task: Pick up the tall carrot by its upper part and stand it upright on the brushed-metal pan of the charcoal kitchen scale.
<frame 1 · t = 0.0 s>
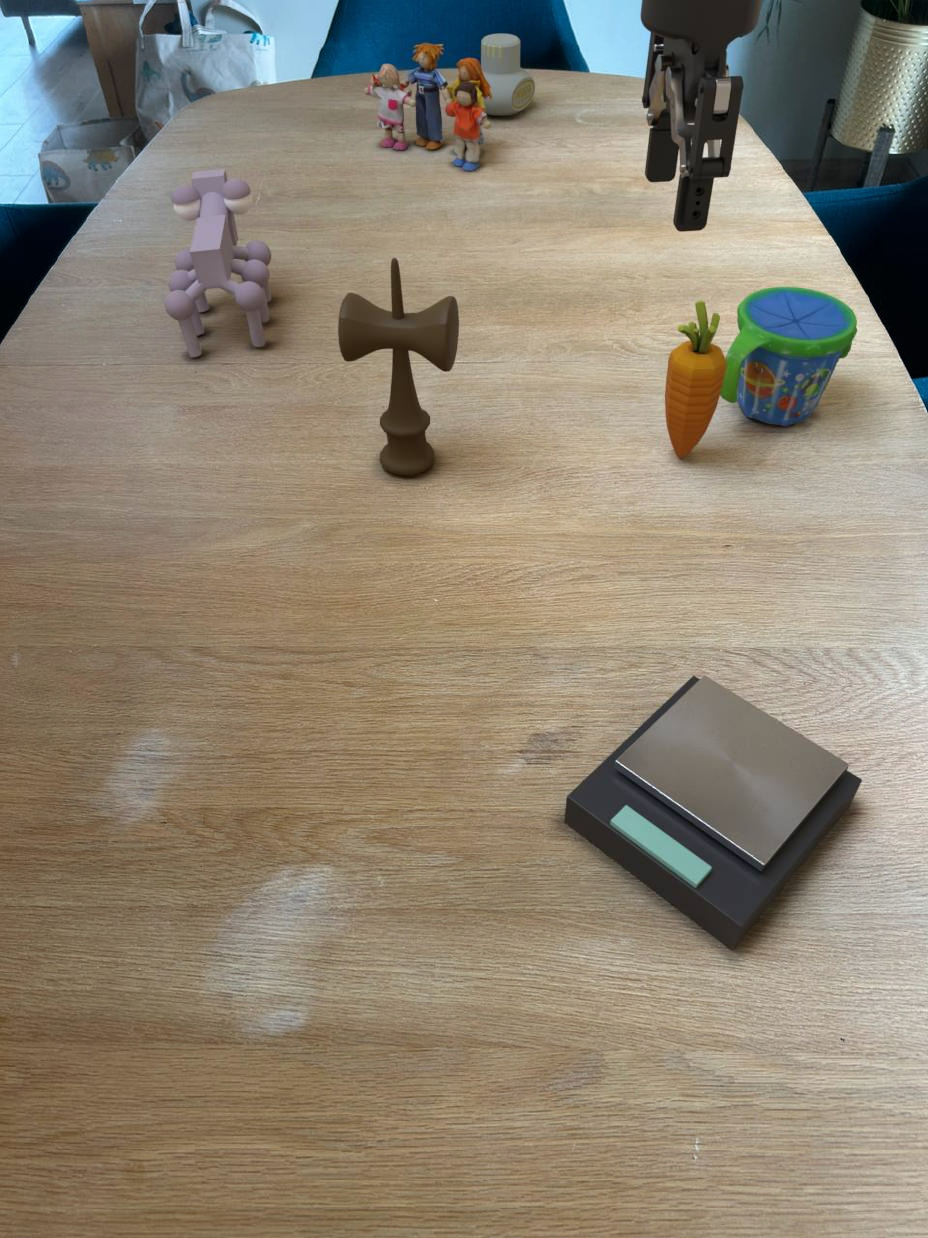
hand: (673, 203, 73), 25 cm above the table, tool pointing down, fingers open, 8 cm apart
scale: (707, 814, 66), on the table
air freshener: (499, 111, 156), on the table
doll family: (441, 149, 146), on the table
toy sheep: (231, 313, 113), on the table
carrot: (680, 458, 93), on the table
snack cup: (774, 408, 99), on the table
scale pan: (730, 766, 64), point 4 cm above the table, slide at 0.0 cm
kendama: (407, 464, 93), on the table
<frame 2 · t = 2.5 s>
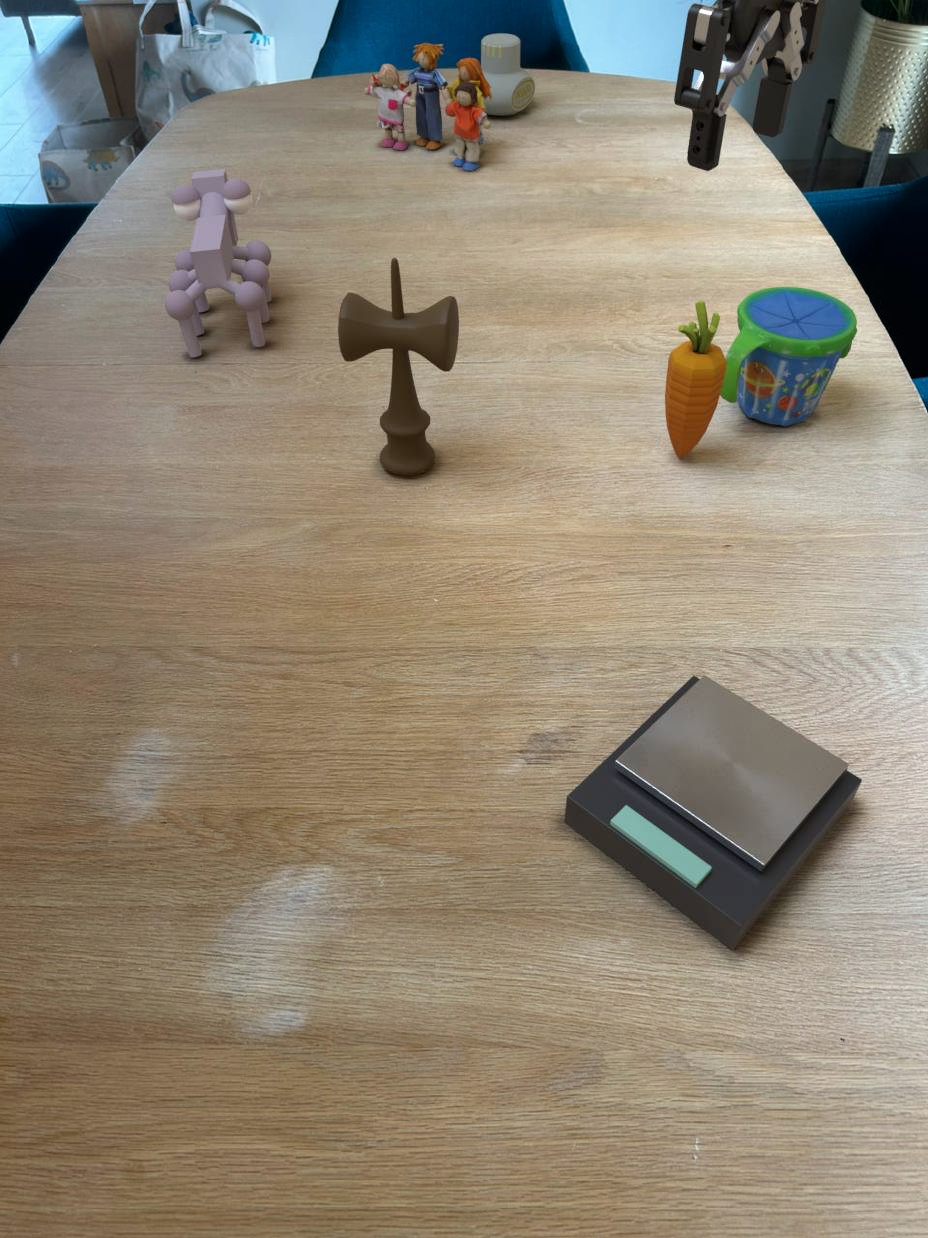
hand: (735, 149, 73), 28 cm above the table, tool pointing down, fingers open, 8 cm apart
nothing on the table moved.
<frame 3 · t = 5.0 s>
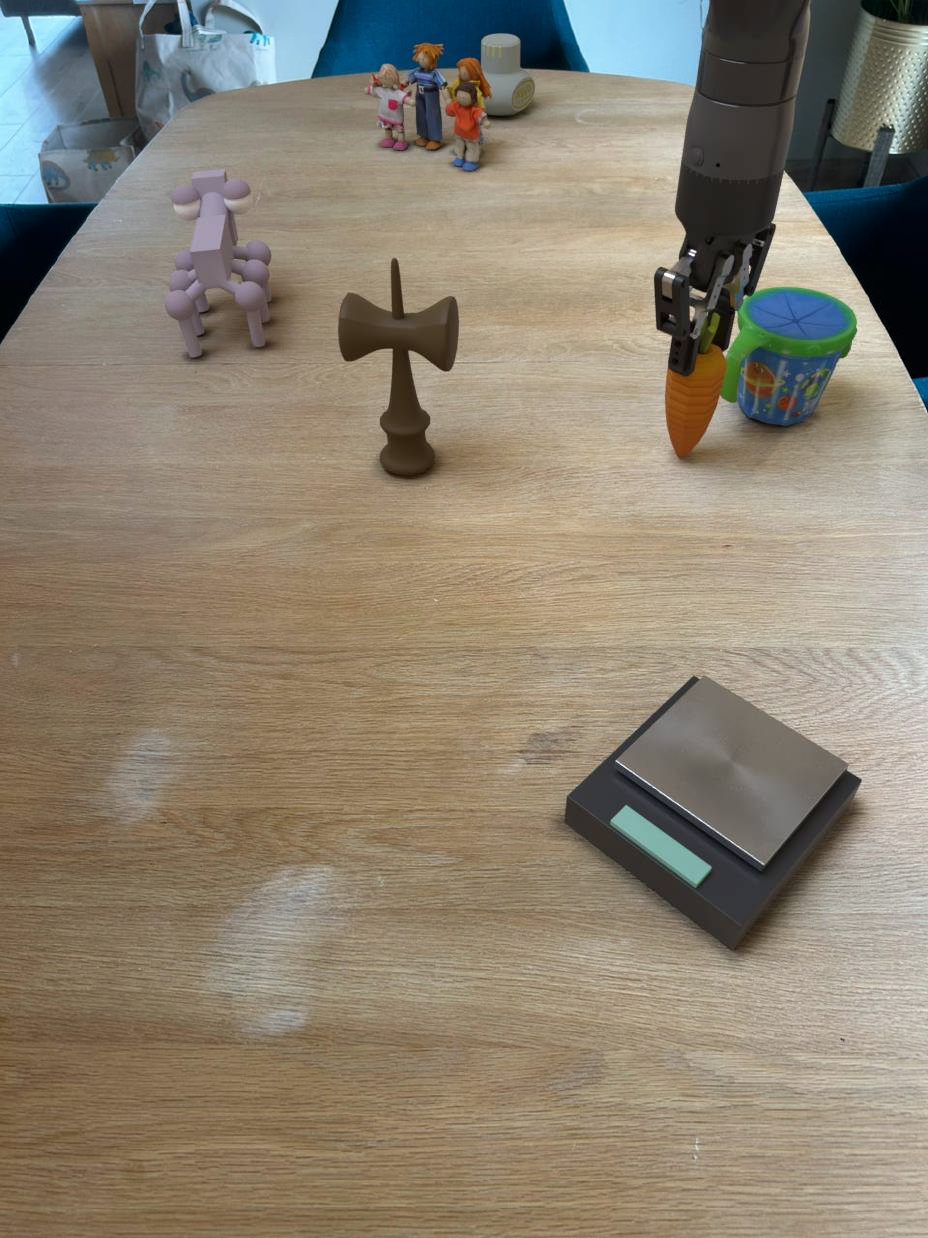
hand: (698, 358, 86), 10 cm above the table, tool pointing down, fingers closed on carrot, 4 cm apart
carrot: (680, 458, 93), on the table, touching gripper
everything else where it was.
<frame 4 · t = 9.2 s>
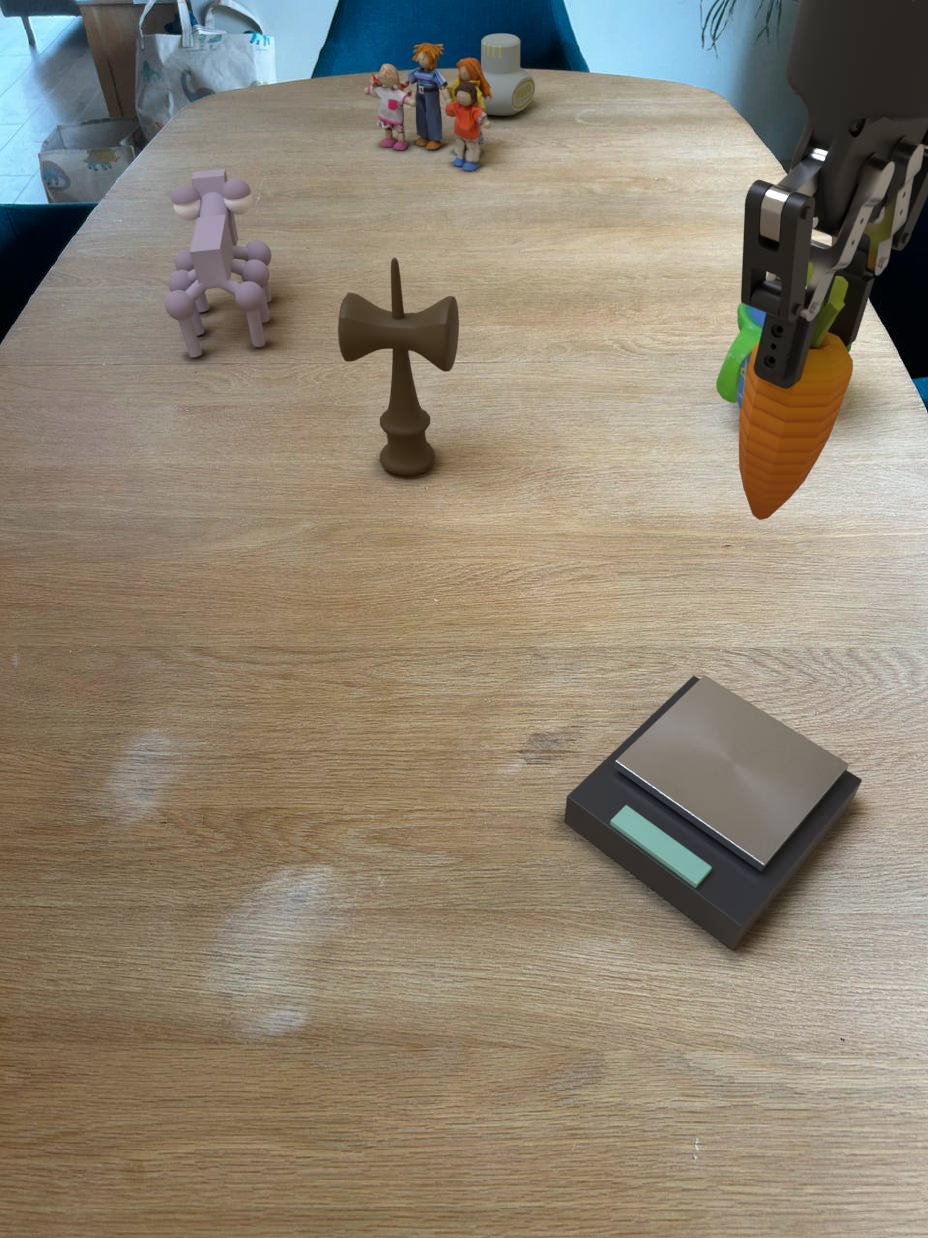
hand: (804, 358, 50), 30 cm above the table, tool pointing down, fingers closed on carrot, 4 cm apart
carrot: (759, 521, 57), point 19 cm above the table, touching gripper
everything else where it was.
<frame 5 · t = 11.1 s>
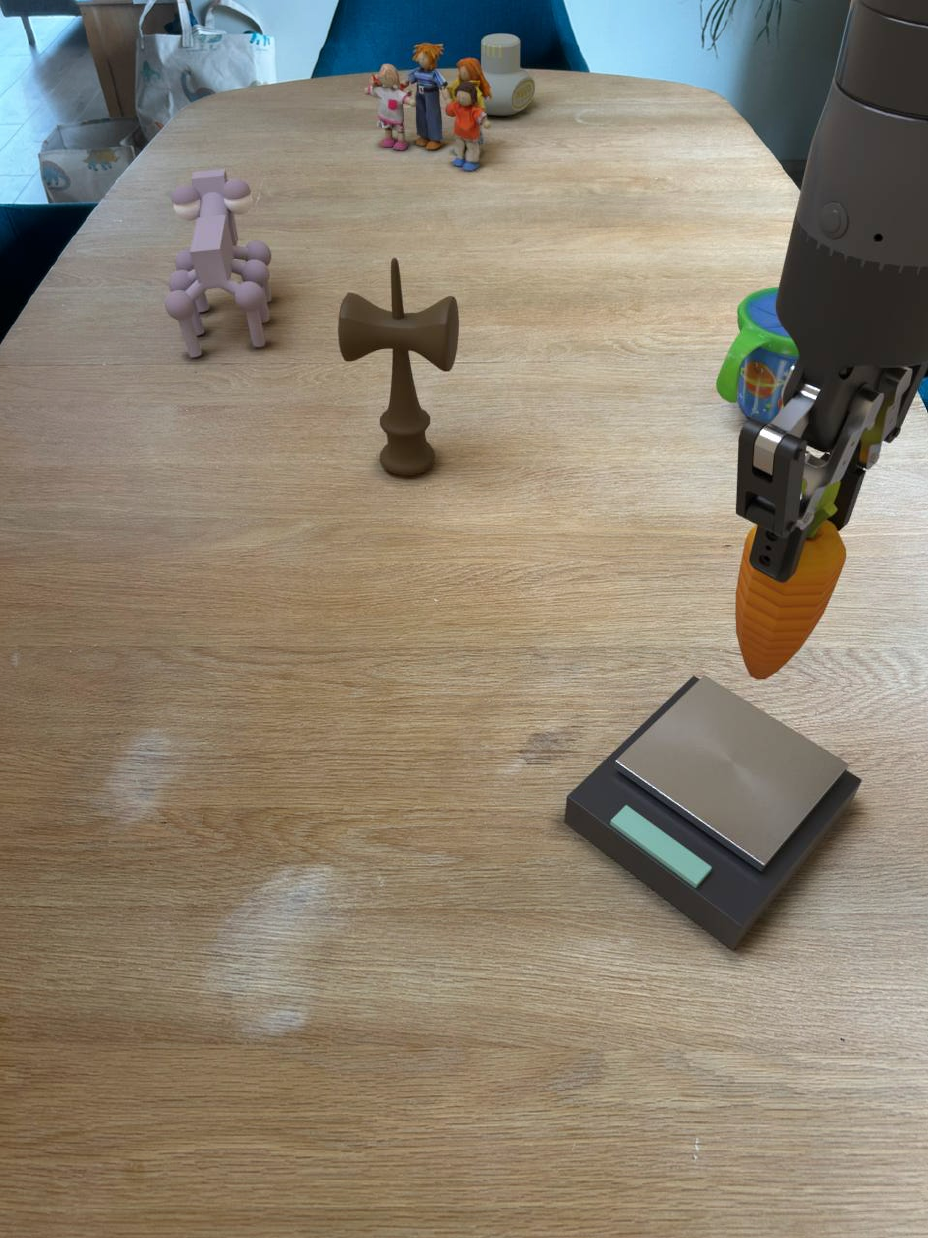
hand: (798, 544, 50), 23 cm above the table, tool pointing down, fingers closed on carrot, 4 cm apart
carrot: (756, 679, 58), point 12 cm above the table, touching gripper
everything else where it was.
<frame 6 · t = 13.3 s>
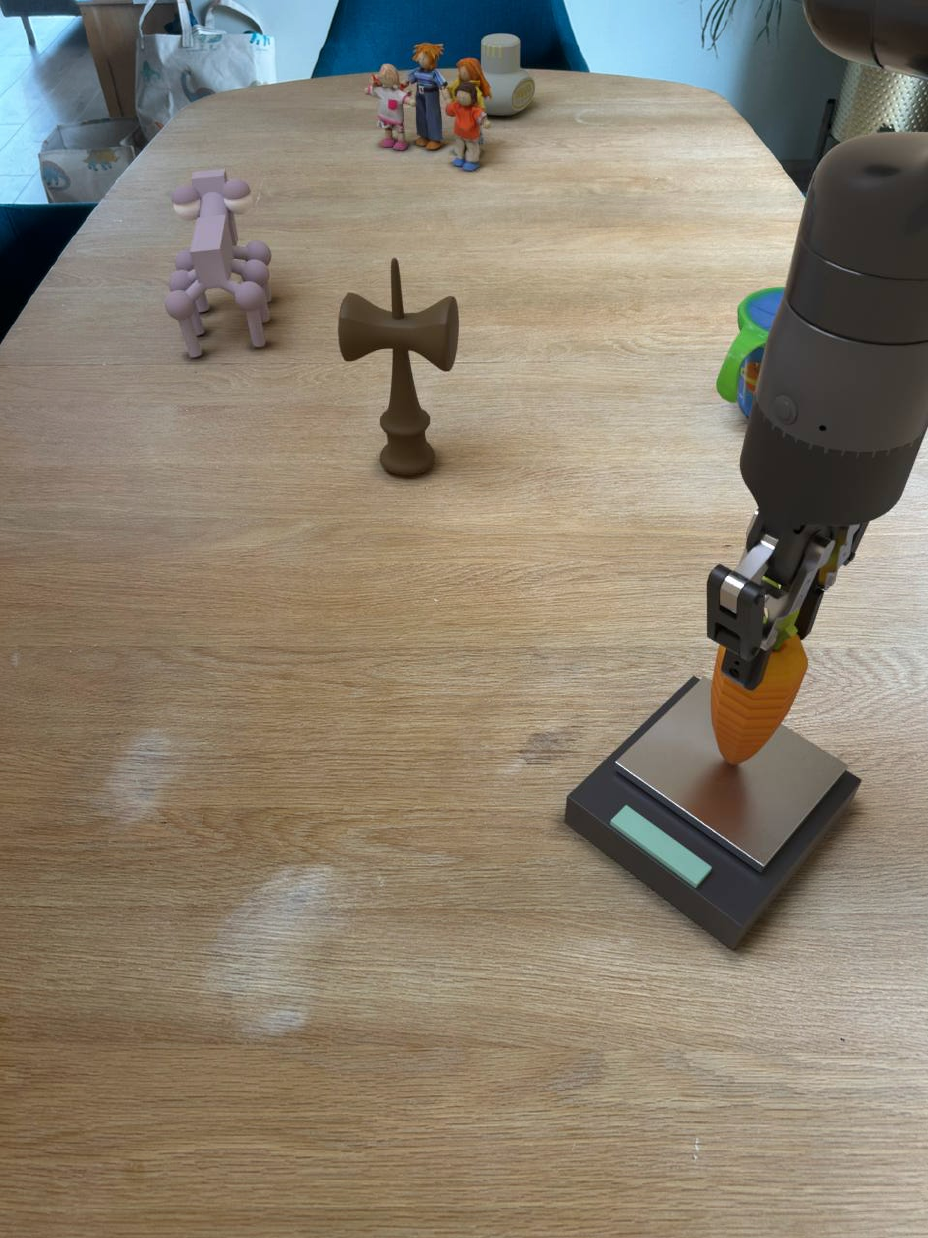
hand: (765, 653, 56), 14 cm above the table, tool pointing down, fingers closed on carrot, 4 cm apart
carrot: (730, 763, 64), point 4 cm above the table, touching gripper, scale pan
scale pan: (730, 767, 64), point 4 cm above the table, slide at -0.1 cm, touching carrot
everything else where it was.
when the fingers open (14 cm above the table, at t = 13.4 s): carrot stays where it is, resting on scale pan.
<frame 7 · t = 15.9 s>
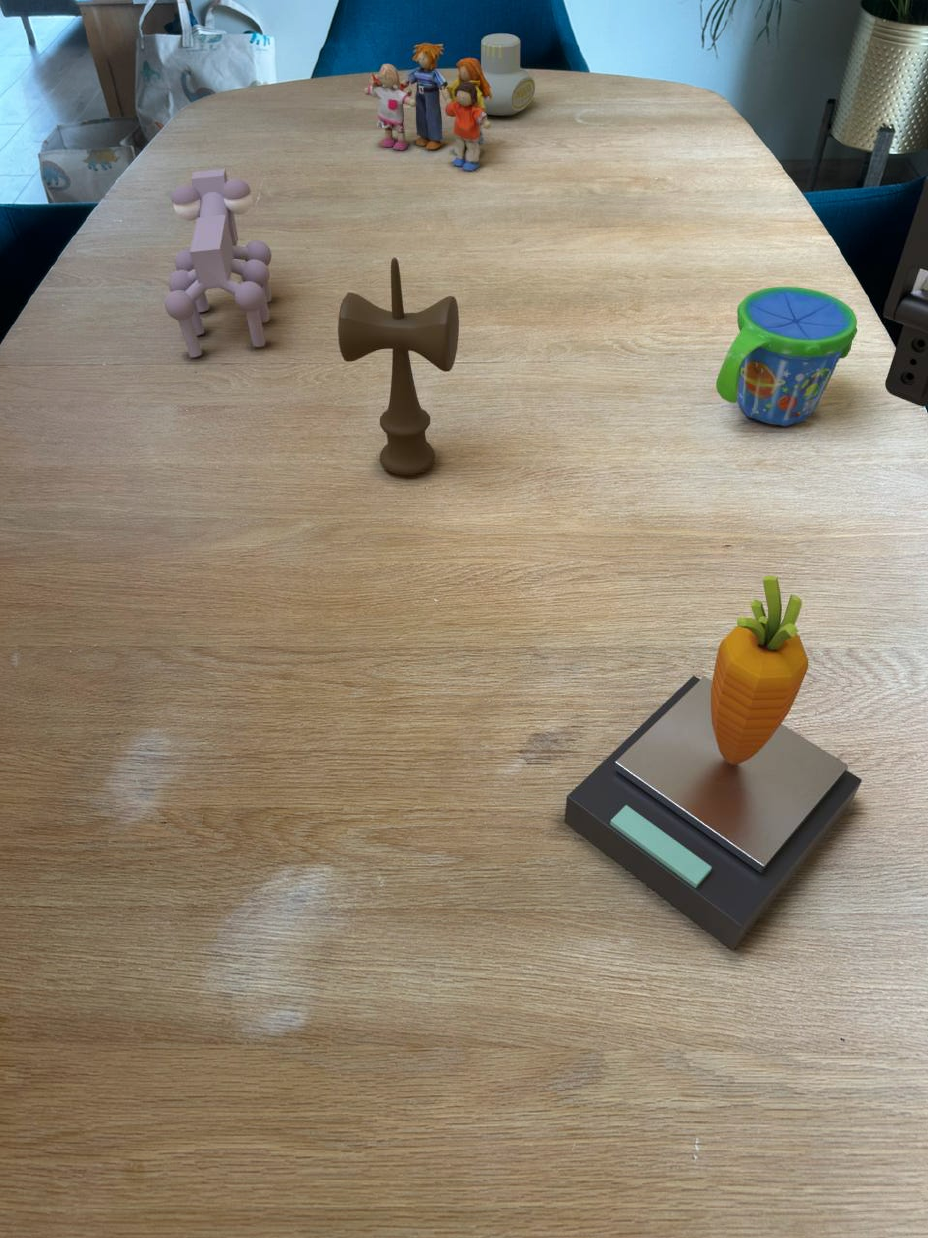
carrot: (730, 763, 64), point 4 cm above the table, touching scale pan
everything else where it was.
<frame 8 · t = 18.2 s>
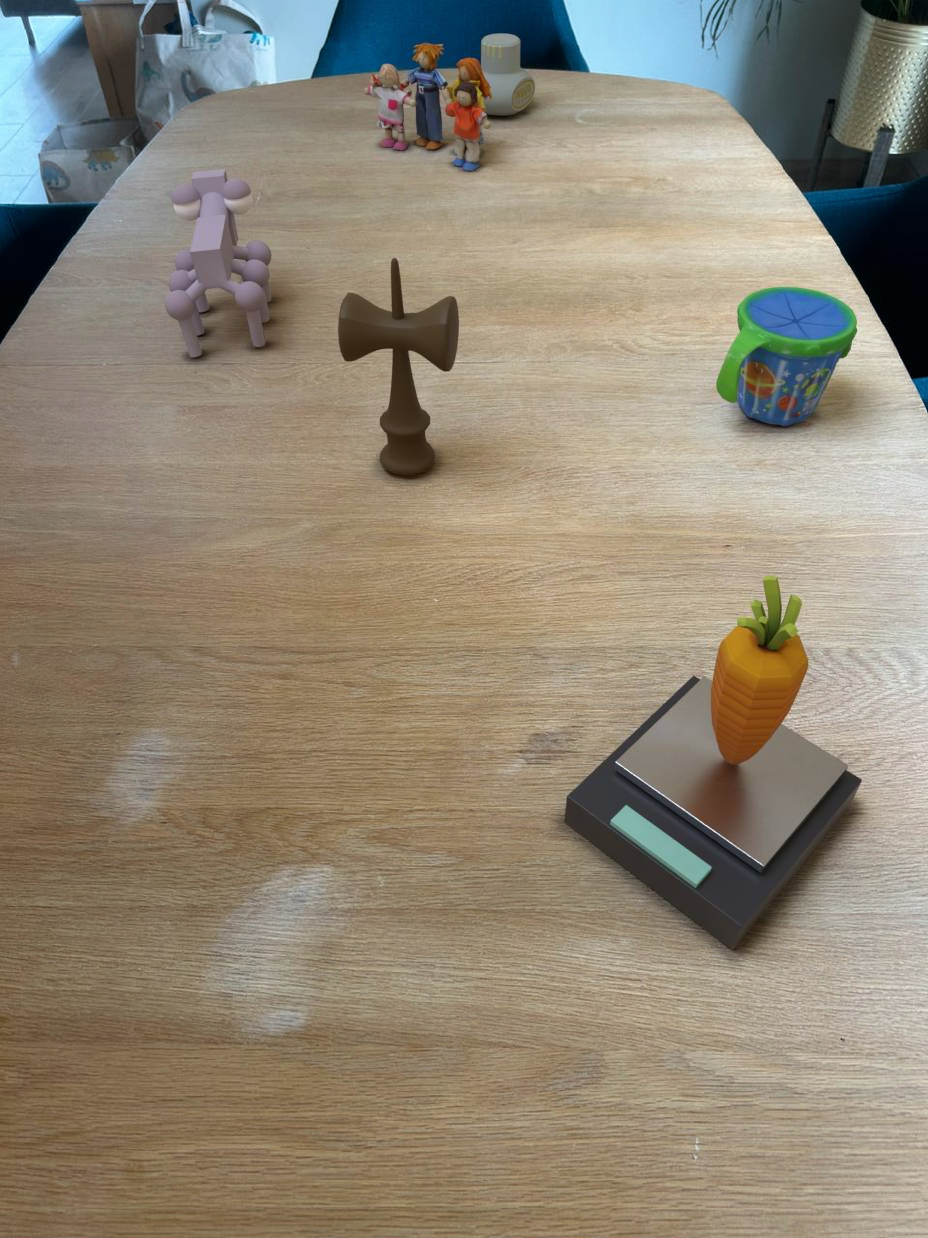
nothing on the table moved.
at the end: carrot inside the target area on the scale (0.1 cm from its centre), point 3.9 cm above the scale's base; carrot tilted 0°; the gripper is holding nothing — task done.
